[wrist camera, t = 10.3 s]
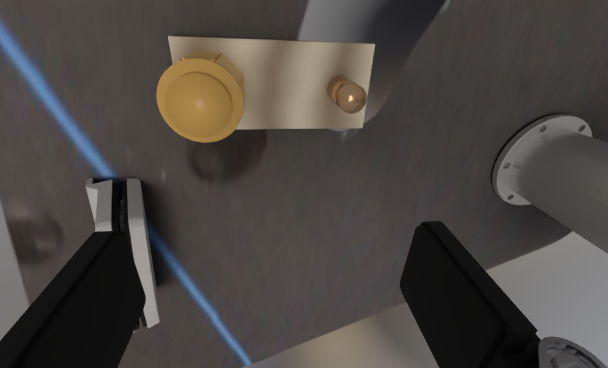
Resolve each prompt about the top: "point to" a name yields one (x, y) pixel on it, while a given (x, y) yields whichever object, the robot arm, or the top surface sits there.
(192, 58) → the cap
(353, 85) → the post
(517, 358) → the robot arm
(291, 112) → the plate
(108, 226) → the hinge
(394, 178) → the top surface
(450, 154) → the top surface
